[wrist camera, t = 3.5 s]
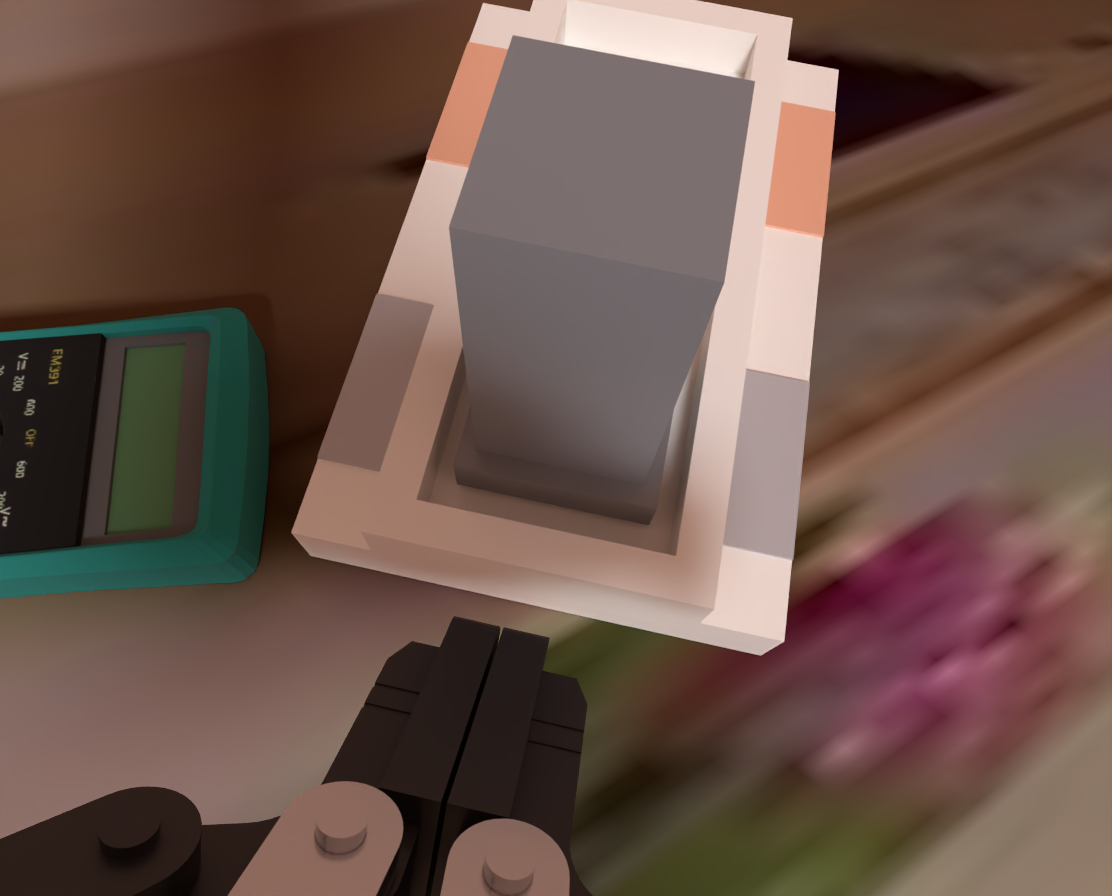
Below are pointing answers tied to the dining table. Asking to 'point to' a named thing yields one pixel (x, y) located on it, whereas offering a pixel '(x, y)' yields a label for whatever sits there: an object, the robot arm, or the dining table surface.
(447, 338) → the switch housing
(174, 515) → the digital multimeter
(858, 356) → the dining table surface
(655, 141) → the slider tab
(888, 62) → the dining table surface
